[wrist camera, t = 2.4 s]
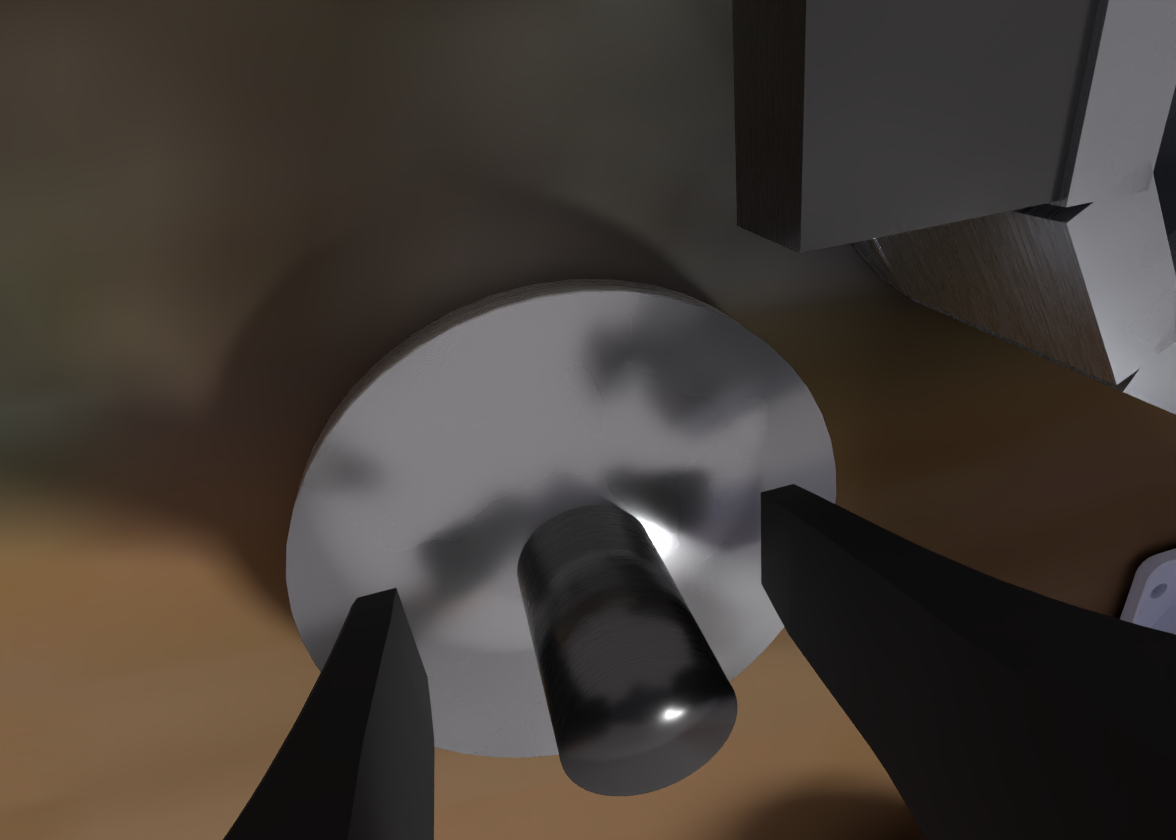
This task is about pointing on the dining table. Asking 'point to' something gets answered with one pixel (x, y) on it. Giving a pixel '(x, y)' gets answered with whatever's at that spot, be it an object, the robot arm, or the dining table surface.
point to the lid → (564, 521)
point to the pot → (978, 163)
